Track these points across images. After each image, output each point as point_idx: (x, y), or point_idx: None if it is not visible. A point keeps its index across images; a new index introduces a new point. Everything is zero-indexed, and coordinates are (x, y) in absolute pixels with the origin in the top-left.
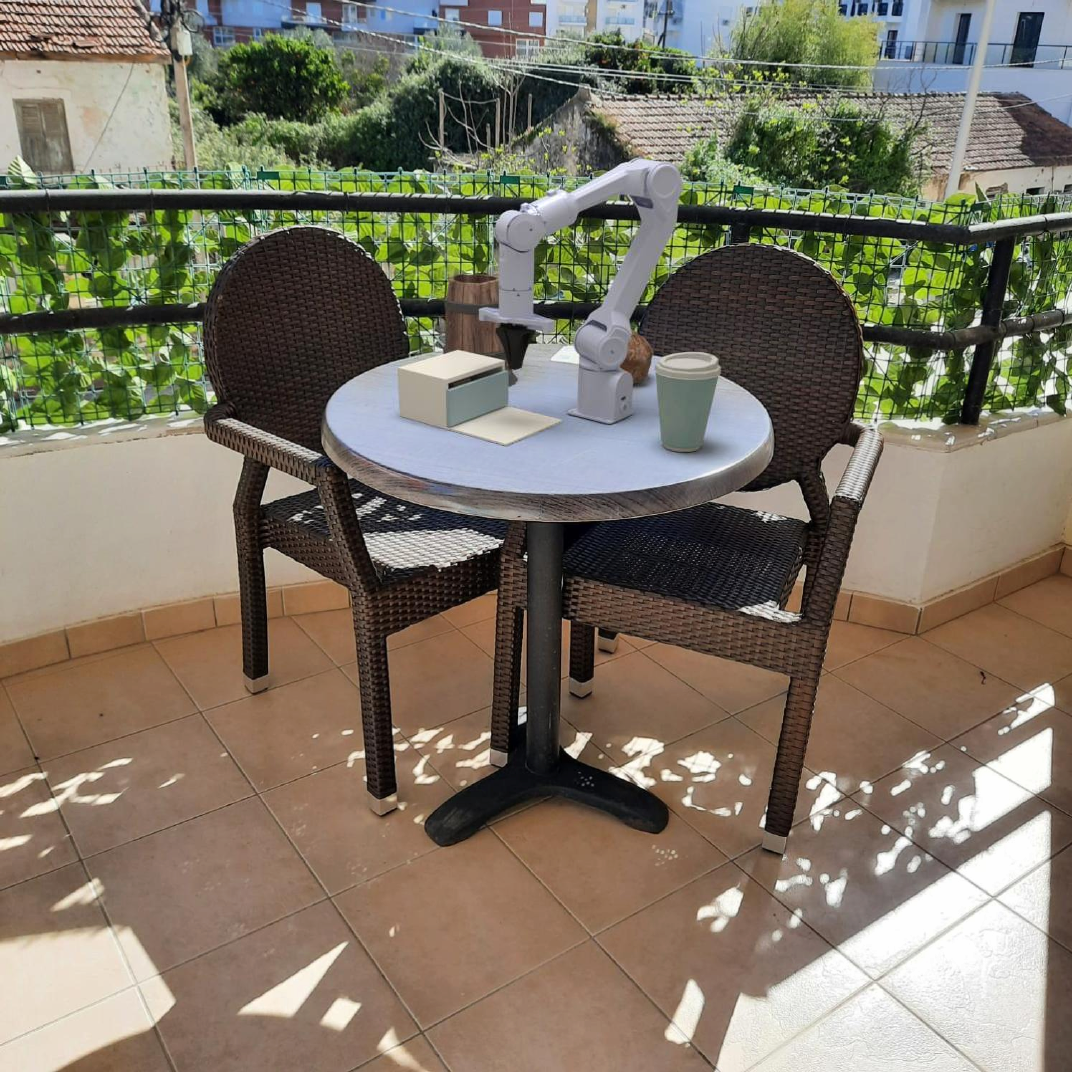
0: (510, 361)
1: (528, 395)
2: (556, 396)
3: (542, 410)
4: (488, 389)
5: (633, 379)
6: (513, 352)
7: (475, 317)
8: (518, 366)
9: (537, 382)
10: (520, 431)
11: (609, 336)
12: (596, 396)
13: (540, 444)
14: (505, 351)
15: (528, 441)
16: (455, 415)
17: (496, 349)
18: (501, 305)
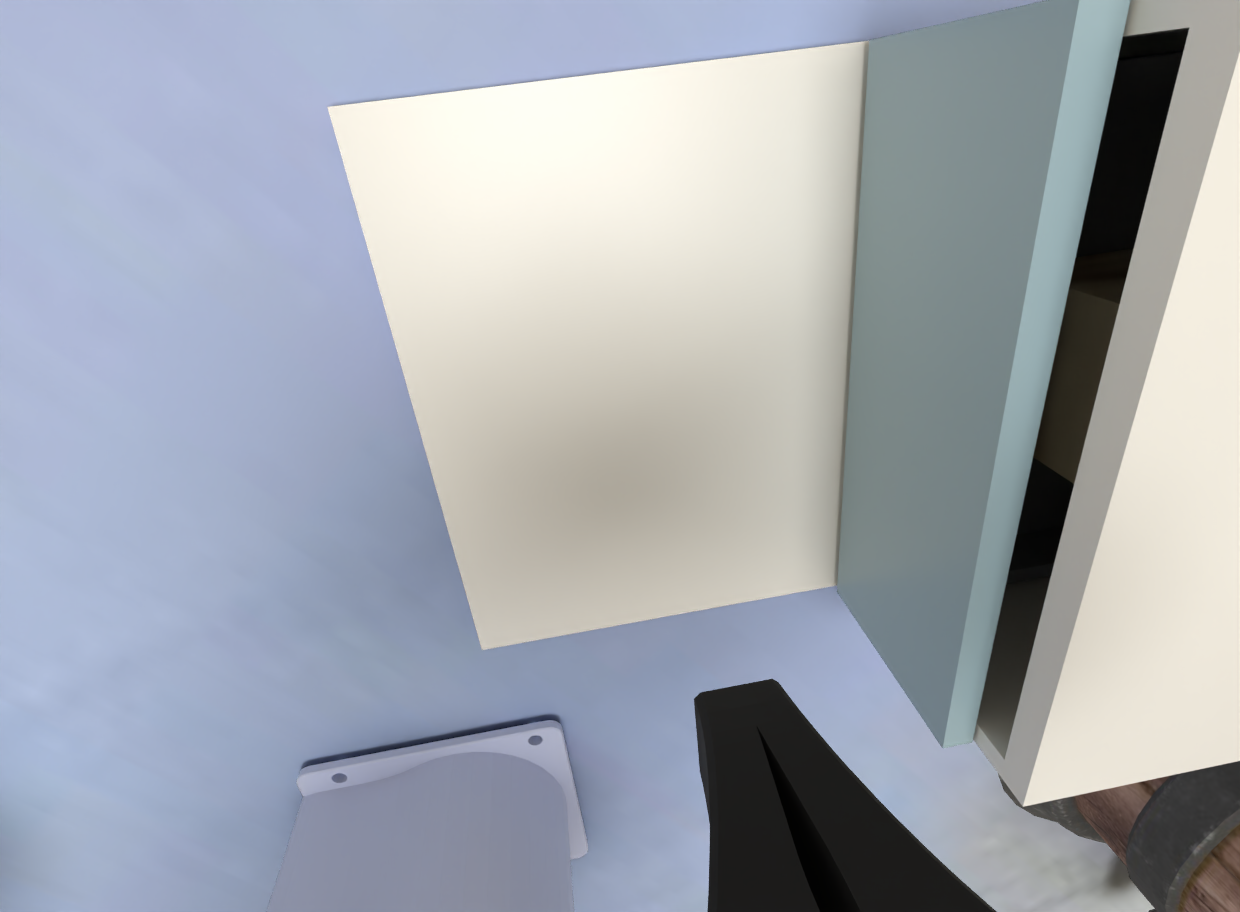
0: (770, 749)
1: (866, 736)
2: None
3: (682, 672)
4: (921, 517)
5: None
6: (747, 879)
7: None
8: (702, 757)
9: (931, 835)
10: (481, 371)
11: None
12: (385, 878)
13: (238, 325)
14: (889, 837)
15: (333, 306)
16: (901, 105)
17: (1212, 886)
18: None
